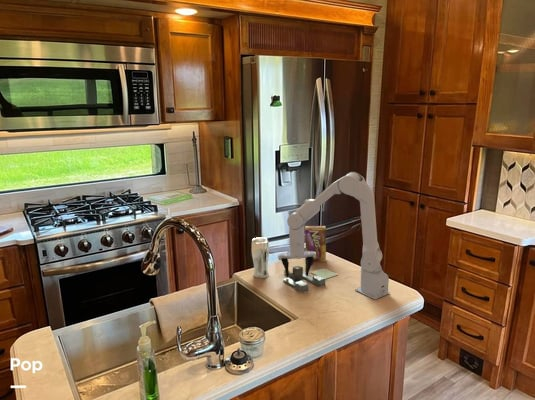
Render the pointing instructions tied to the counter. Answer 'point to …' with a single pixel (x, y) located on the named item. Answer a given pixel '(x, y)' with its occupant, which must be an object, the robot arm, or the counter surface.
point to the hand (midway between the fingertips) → (297, 275)
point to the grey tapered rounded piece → (296, 273)
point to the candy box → (316, 241)
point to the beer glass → (260, 257)
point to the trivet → (324, 273)
